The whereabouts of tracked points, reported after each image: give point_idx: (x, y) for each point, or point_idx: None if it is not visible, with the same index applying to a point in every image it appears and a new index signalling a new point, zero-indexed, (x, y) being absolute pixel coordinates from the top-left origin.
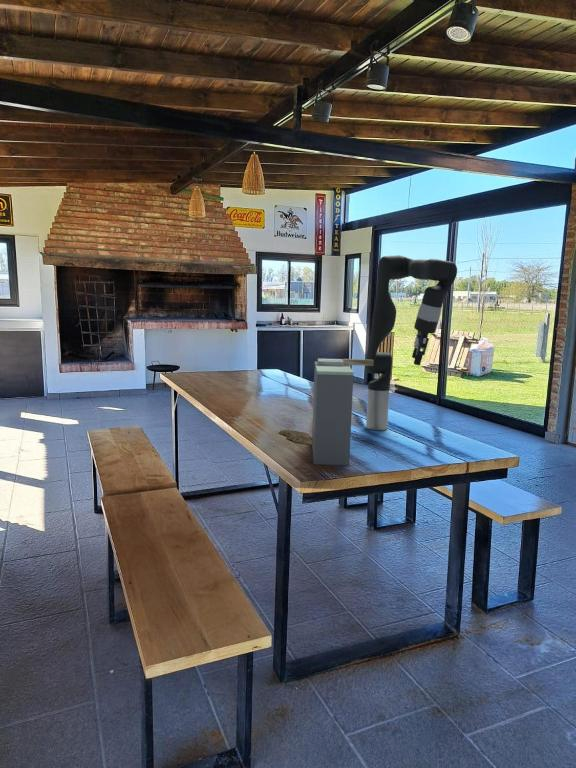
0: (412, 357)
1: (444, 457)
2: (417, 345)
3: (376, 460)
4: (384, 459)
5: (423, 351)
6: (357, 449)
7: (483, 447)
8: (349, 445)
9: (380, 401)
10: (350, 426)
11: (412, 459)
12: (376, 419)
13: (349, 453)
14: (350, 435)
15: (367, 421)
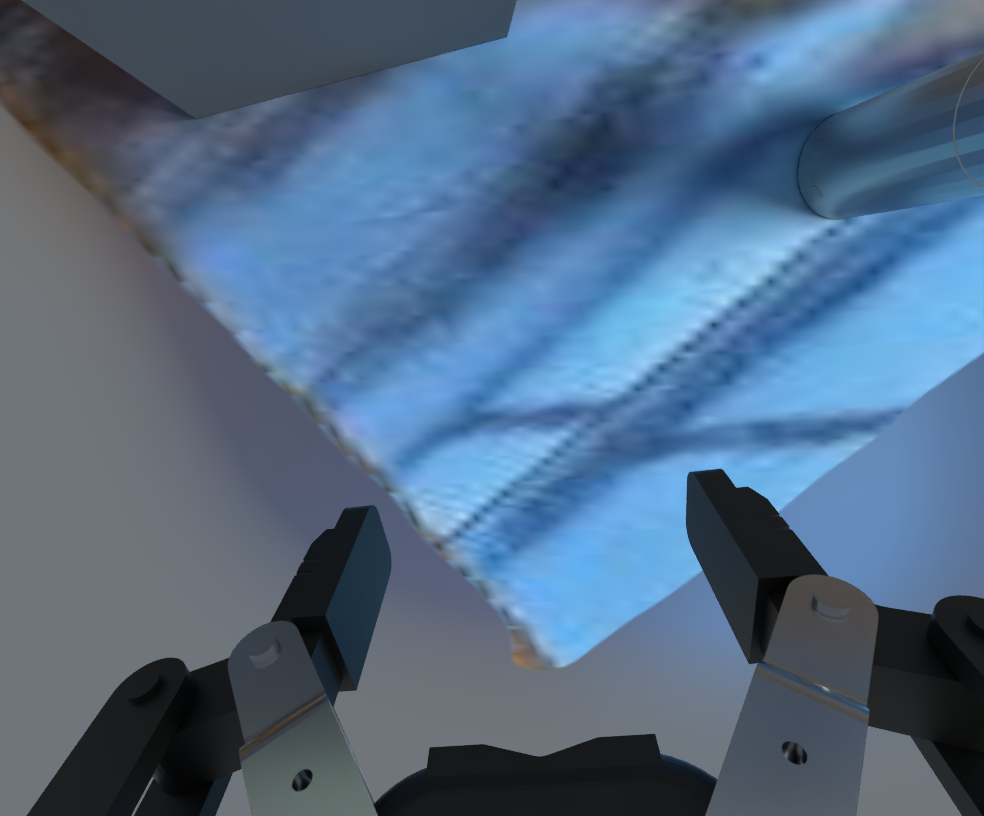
0: (690, 473)
1: (468, 473)
2: (253, 780)
3: (318, 228)
4: (347, 259)
5: (206, 788)
6: (448, 122)
7: (645, 589)
8: (143, 81)
9: (931, 145)
10: (70, 31)
11: (394, 365)
12: (838, 155)
13: (167, 98)
14: (111, 60)
15: (852, 108)
